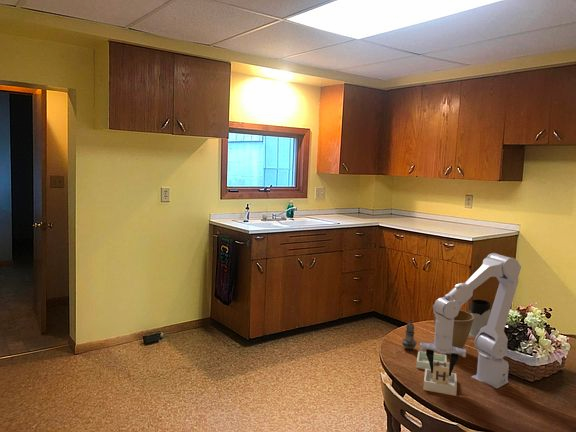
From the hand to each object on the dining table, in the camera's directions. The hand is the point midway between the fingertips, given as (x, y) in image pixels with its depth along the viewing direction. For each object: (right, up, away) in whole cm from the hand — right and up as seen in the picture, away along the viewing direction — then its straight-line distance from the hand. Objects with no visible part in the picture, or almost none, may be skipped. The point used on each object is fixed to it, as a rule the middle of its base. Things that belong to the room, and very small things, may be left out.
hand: (440, 373), depth 156 cm
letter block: (0, -3, +1) cm, 3 cm away
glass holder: (+31, 0, +51) cm, 60 cm away
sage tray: (+2, -3, +16) cm, 16 cm away
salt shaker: (-3, -1, +30) cm, 30 cm away
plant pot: (+13, -2, +29) cm, 32 cm away
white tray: (0, -4, +1) cm, 4 cm away
